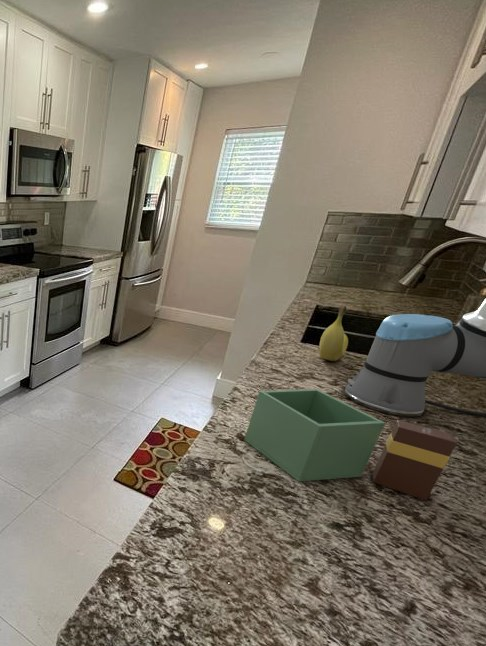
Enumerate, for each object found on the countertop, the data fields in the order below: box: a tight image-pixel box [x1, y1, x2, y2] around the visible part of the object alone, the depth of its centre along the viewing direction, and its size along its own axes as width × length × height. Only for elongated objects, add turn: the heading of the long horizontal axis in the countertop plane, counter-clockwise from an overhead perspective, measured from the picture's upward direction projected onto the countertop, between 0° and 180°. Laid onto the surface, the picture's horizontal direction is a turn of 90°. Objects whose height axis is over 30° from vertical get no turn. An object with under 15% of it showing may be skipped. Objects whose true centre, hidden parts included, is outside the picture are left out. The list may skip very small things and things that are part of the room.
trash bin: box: [243, 388, 386, 482], centre depth 81 cm, size 14×14×12 cm
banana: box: [318, 305, 349, 362], centre depth 132 cm, size 23×6×20 cm, turn 130°
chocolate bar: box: [371, 419, 458, 501], centre depth 73 cm, size 4×7×12 cm, turn 50°
